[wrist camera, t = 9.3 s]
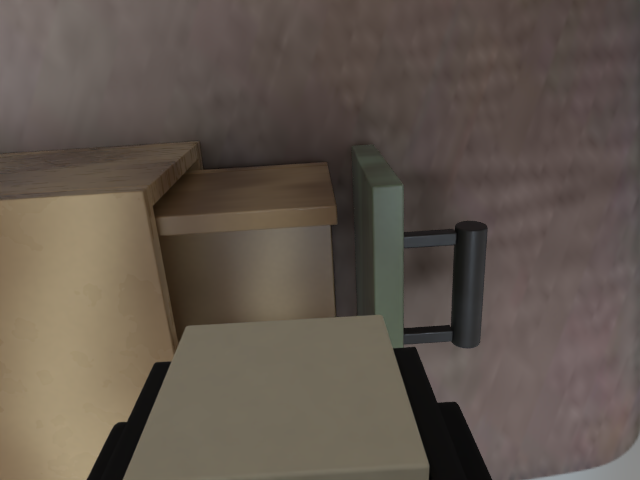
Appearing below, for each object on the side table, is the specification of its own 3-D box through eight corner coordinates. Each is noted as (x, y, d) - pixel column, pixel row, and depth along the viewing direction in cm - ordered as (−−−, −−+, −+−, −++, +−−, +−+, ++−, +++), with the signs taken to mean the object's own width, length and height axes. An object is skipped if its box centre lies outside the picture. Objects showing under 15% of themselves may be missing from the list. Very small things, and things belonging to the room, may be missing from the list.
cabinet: (199, 140, 27) (142, 191, 17) (229, 350, 31) (197, 480, 22) (-77, 158, 27) (-286, 218, 17) (-5, 366, 31) (-138, 504, 22)
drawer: (456, 138, 26) (520, 176, 18) (448, 335, 30) (498, 433, 23) (114, 160, 26) (35, 207, 18) (155, 355, 30) (104, 461, 22)
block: (382, 313, 11) (430, 465, 7) (382, 465, 13) (421, 662, 9) (185, 324, 11) (118, 485, 7) (209, 476, 13) (166, 680, 9)
